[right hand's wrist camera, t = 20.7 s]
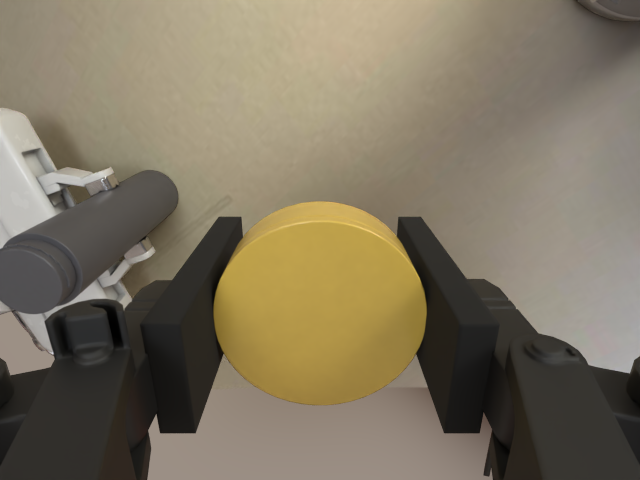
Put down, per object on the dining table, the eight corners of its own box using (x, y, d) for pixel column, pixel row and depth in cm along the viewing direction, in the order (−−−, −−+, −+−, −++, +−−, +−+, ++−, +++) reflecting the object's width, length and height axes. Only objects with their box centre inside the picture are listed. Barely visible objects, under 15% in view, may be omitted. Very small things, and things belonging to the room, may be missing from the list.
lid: (194, 313, 12) (175, 347, 10) (290, 161, 10) (285, 175, 9) (343, 393, 13) (346, 434, 12) (452, 267, 11) (472, 295, 10)
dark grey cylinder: (178, 173, 38) (63, 248, 21) (178, 220, 39) (72, 324, 22) (127, 167, 37) (-29, 237, 21) (129, 214, 39) (-14, 315, 22)
